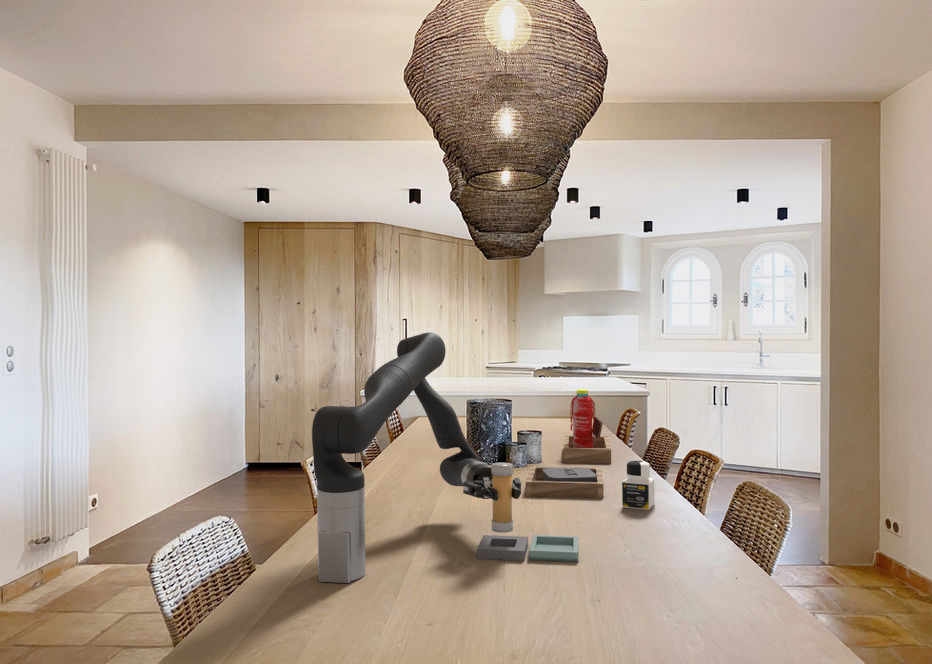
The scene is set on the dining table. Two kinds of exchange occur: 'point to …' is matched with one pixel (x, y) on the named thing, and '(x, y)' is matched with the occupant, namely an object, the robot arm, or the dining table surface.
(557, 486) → the square wooden tray
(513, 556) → the frame
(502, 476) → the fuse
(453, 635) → the dining table surface
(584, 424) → the water bottle
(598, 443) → the bottle rack
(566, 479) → the streaming box
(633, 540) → the dining table surface
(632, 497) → the medicine bottle
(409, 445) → the dining table surface
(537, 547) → the parts tray
